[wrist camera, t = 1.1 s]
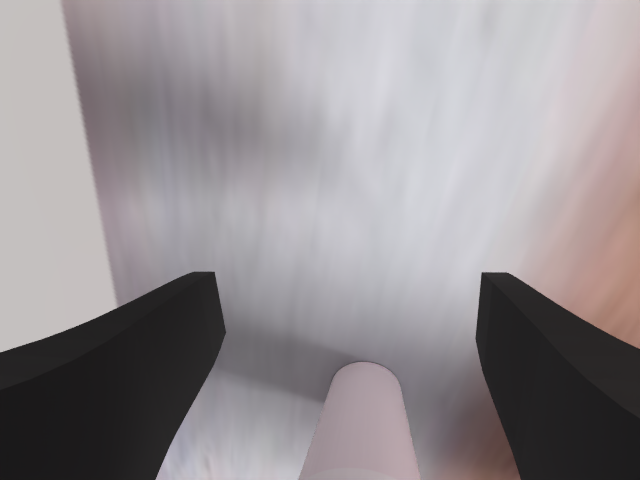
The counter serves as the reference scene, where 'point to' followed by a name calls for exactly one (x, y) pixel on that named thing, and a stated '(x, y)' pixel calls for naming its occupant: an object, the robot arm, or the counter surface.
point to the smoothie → (362, 429)
